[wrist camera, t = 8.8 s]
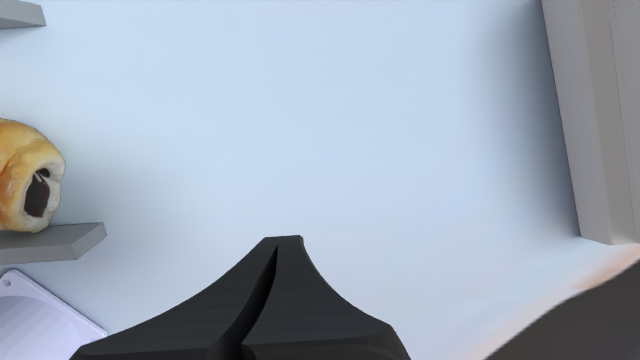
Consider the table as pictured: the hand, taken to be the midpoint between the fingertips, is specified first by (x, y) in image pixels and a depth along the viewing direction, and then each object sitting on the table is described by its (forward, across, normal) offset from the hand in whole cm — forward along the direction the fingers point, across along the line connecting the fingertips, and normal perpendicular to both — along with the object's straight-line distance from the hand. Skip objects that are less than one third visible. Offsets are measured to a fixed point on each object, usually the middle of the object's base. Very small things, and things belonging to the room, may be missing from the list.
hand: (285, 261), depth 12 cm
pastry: (+11, +18, -2) cm, 22 cm away
